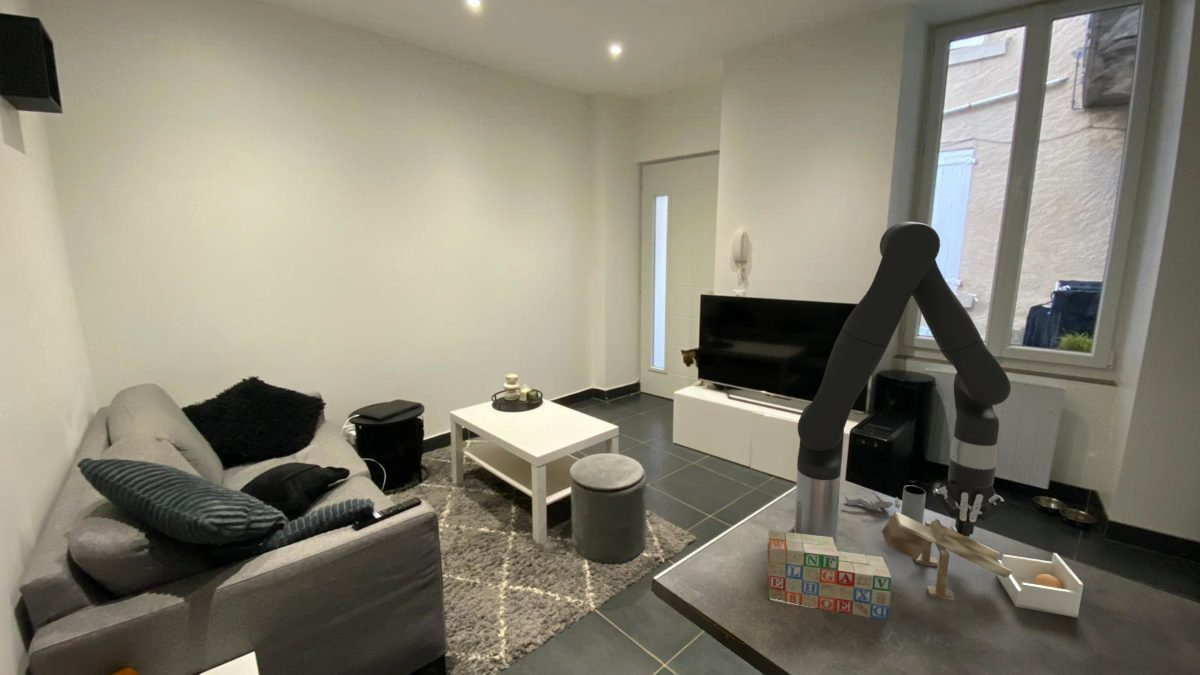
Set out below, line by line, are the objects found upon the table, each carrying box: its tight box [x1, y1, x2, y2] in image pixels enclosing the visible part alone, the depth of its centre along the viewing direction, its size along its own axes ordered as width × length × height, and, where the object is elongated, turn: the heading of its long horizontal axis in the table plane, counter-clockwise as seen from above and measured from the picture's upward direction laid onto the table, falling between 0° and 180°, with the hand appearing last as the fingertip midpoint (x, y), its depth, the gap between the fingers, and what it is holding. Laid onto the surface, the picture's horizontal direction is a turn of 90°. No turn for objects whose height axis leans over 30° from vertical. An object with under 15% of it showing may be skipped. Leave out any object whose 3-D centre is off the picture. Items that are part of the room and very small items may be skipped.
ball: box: [1034, 574, 1063, 589], centre depth 94 cm, size 4×4×4 cm
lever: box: [881, 510, 1012, 578], centre depth 101 cm, size 20×13×8 cm, turn 72°
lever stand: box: [914, 520, 955, 601], centre depth 100 cm, size 4×12×10 cm, turn 160°
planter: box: [900, 484, 927, 525], centre depth 116 cm, size 4×4×10 cm
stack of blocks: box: [767, 529, 892, 621], centre depth 95 cm, size 21×6×12 cm, turn 73°
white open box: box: [995, 552, 1084, 618], centre depth 94 cm, size 9×9×7 cm
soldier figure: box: [845, 490, 901, 511], centre depth 126 cm, size 8×5×12 cm
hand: (963, 534), depth 103 cm, fingers closed
